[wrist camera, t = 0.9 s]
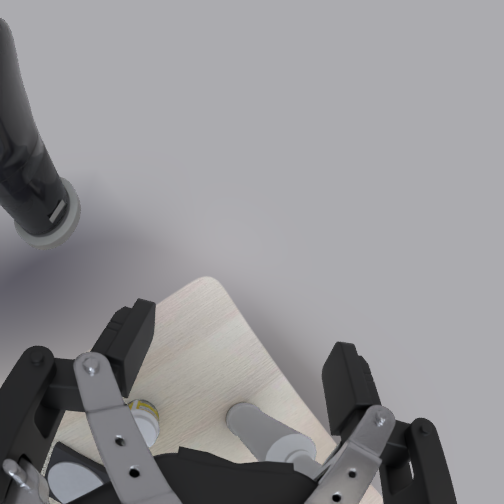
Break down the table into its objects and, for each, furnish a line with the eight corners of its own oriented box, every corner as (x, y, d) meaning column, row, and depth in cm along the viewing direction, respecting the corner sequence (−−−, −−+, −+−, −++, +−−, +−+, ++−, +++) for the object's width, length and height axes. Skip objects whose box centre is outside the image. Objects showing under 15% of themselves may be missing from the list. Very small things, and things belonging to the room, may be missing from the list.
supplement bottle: (129, 433, 32) (123, 454, 25) (120, 401, 33) (111, 417, 26) (163, 428, 34) (165, 449, 26) (154, 396, 35) (153, 411, 27)
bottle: (267, 415, 39) (382, 477, 16) (243, 440, 37) (337, 528, 14) (242, 394, 39) (345, 449, 16) (217, 419, 37) (294, 506, 14)
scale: (43, 486, 25) (39, 492, 22) (58, 441, 28) (53, 446, 26) (115, 522, 26) (114, 530, 24) (134, 480, 30) (134, 488, 28)
